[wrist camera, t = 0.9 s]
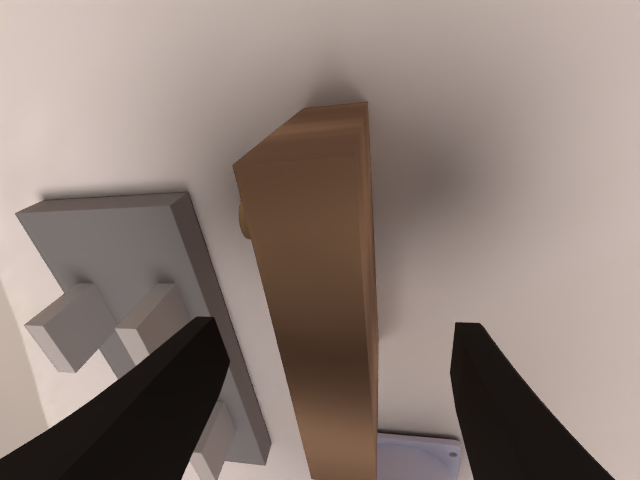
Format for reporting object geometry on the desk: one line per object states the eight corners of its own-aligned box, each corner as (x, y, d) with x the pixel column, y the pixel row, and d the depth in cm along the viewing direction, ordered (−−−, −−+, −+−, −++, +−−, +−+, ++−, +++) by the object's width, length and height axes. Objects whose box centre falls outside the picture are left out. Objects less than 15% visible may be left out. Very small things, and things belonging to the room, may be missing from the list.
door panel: (378, 339, 18) (376, 487, 12) (320, 337, 18) (290, 476, 13) (367, 101, 12) (353, 155, 6) (283, 110, 13) (195, 167, 7)
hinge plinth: (271, 443, 25) (251, 517, 21) (175, 433, 26) (139, 500, 22) (187, 191, 15) (121, 242, 11) (42, 200, 17) (-60, 247, 13)
